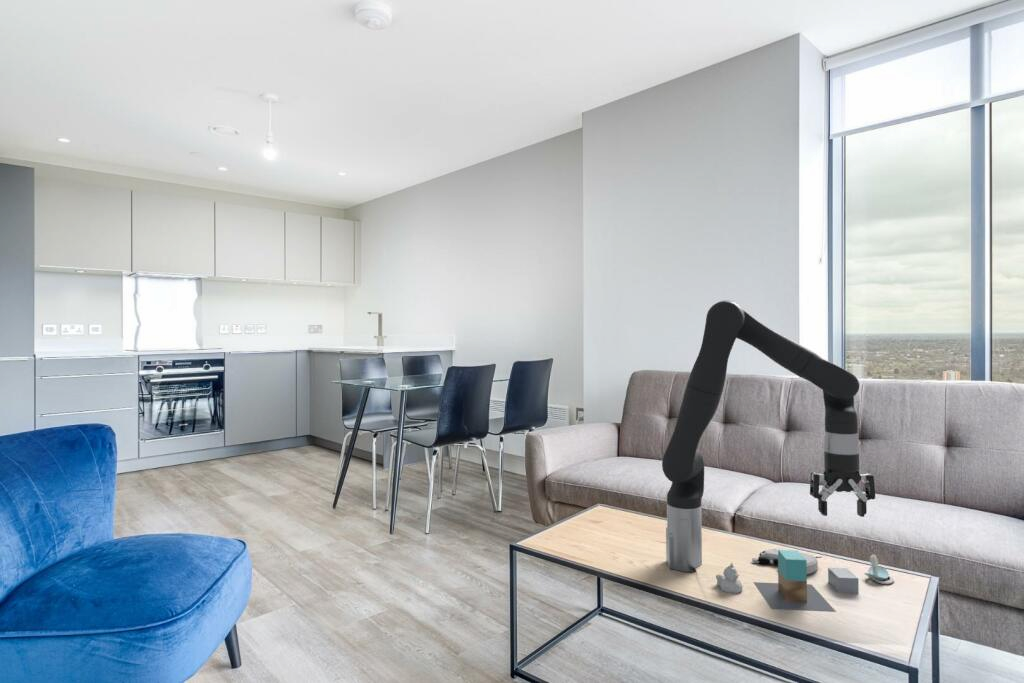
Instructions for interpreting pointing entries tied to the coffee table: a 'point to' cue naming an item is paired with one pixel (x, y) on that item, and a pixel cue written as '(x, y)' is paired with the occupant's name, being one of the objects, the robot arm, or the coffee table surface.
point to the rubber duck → (729, 580)
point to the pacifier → (878, 572)
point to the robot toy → (772, 558)
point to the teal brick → (792, 565)
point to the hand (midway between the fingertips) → (842, 515)
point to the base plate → (779, 602)
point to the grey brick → (843, 580)
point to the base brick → (792, 589)
